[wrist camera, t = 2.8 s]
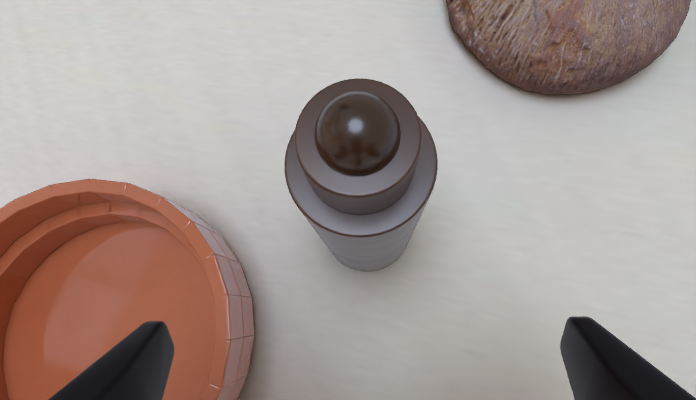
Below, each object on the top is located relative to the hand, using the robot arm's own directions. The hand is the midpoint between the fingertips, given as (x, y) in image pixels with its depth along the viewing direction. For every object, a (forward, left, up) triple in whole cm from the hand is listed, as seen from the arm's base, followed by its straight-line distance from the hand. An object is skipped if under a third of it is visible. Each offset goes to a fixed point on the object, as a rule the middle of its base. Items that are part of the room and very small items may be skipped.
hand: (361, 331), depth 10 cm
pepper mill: (+4, +2, -11) cm, 12 cm away
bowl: (-5, +11, -11) cm, 16 cm away
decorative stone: (+20, -3, -11) cm, 23 cm away
